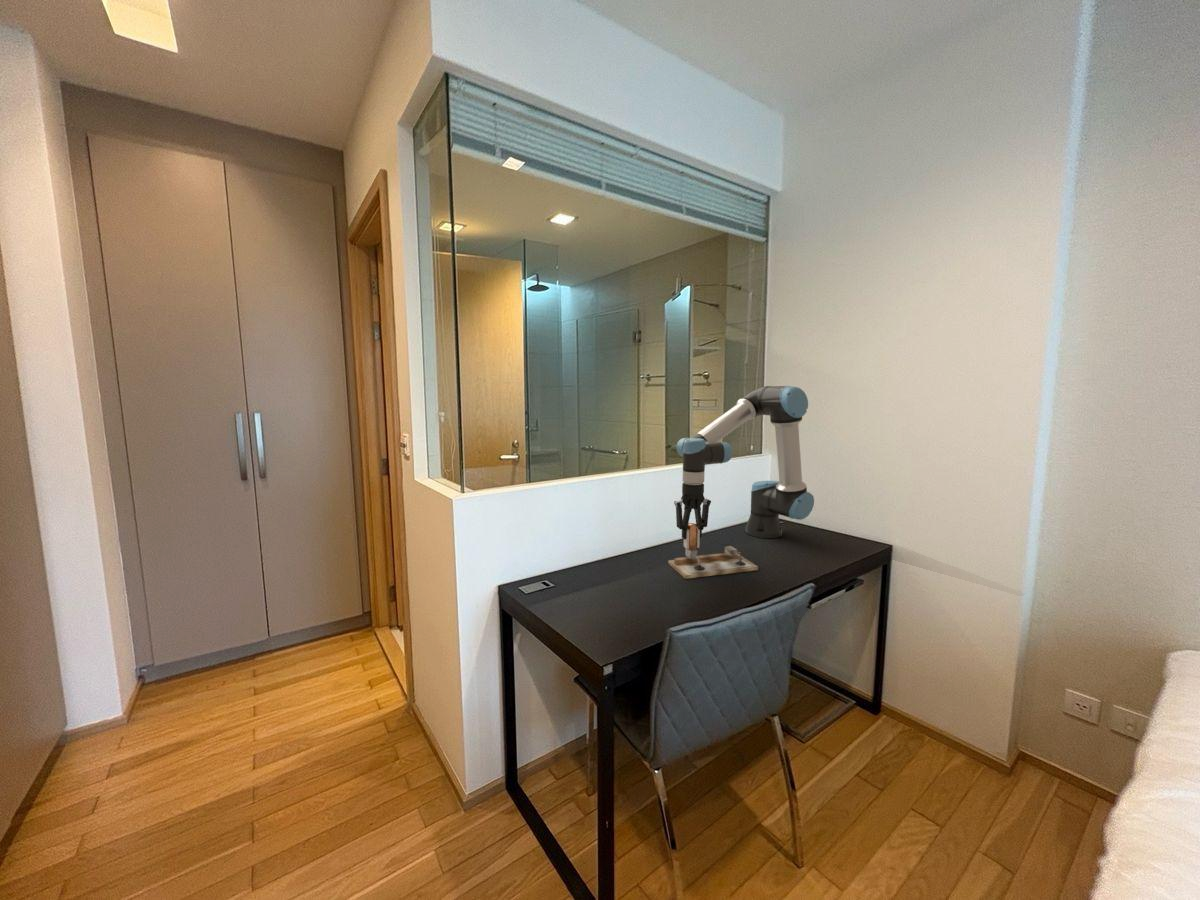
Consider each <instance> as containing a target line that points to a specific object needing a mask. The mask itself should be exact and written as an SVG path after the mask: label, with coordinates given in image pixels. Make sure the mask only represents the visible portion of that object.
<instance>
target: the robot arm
mask: <svg viewBox="0 0 1200 900" xmlns="http://www.w3.org/2000/svg"><path fill="white" fill-rule="evenodd" d="M808 408H809V400H808V396H807V394H806V393H805V391H804V390H803V389H802V388H800V387H797V386H790V385H784V386H783V385H779V386H778V385H777V386H776V385H775V386H772V385H769V386H768V385H766V386H761V387H758V388H757V389H754V390H752V391H751V392H748V393H746V394H745V395H744V396H742V397H741V398H739V399H738V400H737V401H736V403H735V405H734V406H733V407H731V408H729V410H727V411H726V412H723V414H722V415H720V416H719V417H717V418H716V419H715V420H713V421H712V422H710V423H708V425H706V426H705V427H703V428H702V429H701V430H699V431H698V432H696V433H695V434H694V435H693V436H691V437H682V438H680V439H679V440H678V441H677V444H676V452H677V455H679V456H680V457H682V485H681V493H682V494H681V495H682V496H681V497H680V499H679V500H675V501H674V502H673V504H674V506H675V513H676V515H675V516H676V517H675V519H676V527H677V528H678V529H679V530H681V539H683V547H684V548H685V549H686V548H687V549H689V530H687V528H688V523H690V519H691V513H692V511H694V518H695V524H697V539H696V549H697V548H698V549H699V548H700V538H702V535H703V534H702V533H703V530H704V528H708V519H709V513H710V512H709V511H710V505H711V503H712V501H711V500H710V499H708V498H706V497H705V496H704V493H705V484H704V483H705V471H706V470H705V469H706V466H707V465H715V464H717V465H718V464H720V465H721V464H723V463H728V462H730V461H731V459H732V457H733V448H732V446H731V444H729V443H728V442H726V441H724V442H723V441H721V440H722V439H723V438H725V437H727V435H729V434H731V433H732V432H733V431H734V430H736V429H737V428H739V427H741V425H743V424H744V423H745V422H747V421H751V420H753V419H755V418H756V417H758V416H769V419H770V423H771V424H772V425H773V426H774V431H775V440H776V441H775V442H776V457H777V466H778V467H777V470H778V480H779V481H777V480H760V481H755V482H753V483H752V485H751V491H750V492H751V495H750V515H749V516H748V517H749V518H748V521H747V523H746V526H745V533H747V534H748V535H749V536H752V537H756V538H762V539H777V538H780V537H782V536H783V528H782V523H781V521H780V516H782V517H786V518H790V519H794V520H798V521H802V520H804V519H806V518H807V517H808V516H810V514H811V512H812V511H813V508H814V505H815V496H814V495H813V494H812V493H811V492H810V491H808V488H807V487H808V486H807V483H805V482H804V481H803V473H802V461H801V460H802V457H801V444H800V431H799V424H800V423H801V422H802V420H803V417H804V416H805V414H807V412H808V411H807V410H808ZM701 505H702V508H701ZM683 507H684V508H683ZM683 510H684V511H683Z"/></svg>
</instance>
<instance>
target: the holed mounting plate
mask: <svg viewBox="0 0 1200 900" xmlns="http://www.w3.org/2000/svg"><path fill="white" fill-rule="evenodd" d="M697 558H698V559H699V560H701V567H700V568H699V567H698V562H697V561H696V560H695V559H689V558H688V557H687V556H684V557H675V558H674V559H669V560H667V562H668V565H669V566H671V567H672V568H673V569H674V570H675V571H676V572H677V573H678V574H679V575H680V576H681V577H683V579H685V580H687V579H695V578H696V579H697V578H702V577H710V576H711V577H712V576H720V575H728V574H738V573H745V572H752V571H759V566H758V565H756V564H755V563H753V562H752V561H750V560H748V559H746V557H744V556H742V552H741V551H738V549H737V548H736V547H734V546H732V545H728V546H724V552H722V553H721V552H720V553H712V554H701V555H697Z"/></svg>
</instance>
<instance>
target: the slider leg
mask: <svg viewBox="0 0 1200 900" xmlns="http://www.w3.org/2000/svg"><path fill="white" fill-rule="evenodd" d="M687 530H689V549H687V548H685V549H684V550H685V557H688V558H689V559H695V560H696V561H697V562H698V567H699V568H700V567H701V560H699V559H698V558H697V556H698V549H697V547H696V539H697V524H696V522H693V523H692V522H689V523H688V528H687Z"/></svg>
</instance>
